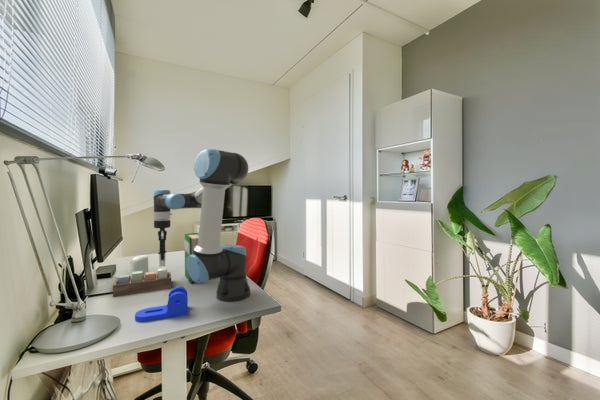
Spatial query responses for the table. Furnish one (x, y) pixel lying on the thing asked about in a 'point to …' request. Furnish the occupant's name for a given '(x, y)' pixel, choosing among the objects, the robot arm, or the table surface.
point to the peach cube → (149, 276)
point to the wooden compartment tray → (141, 285)
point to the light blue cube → (124, 279)
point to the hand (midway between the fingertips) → (162, 265)
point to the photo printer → (139, 264)
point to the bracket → (166, 307)
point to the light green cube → (137, 276)
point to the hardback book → (190, 249)
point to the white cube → (162, 273)
